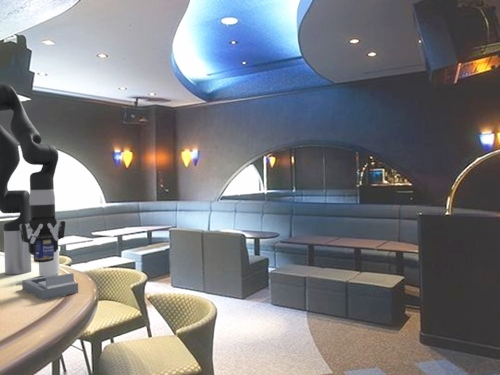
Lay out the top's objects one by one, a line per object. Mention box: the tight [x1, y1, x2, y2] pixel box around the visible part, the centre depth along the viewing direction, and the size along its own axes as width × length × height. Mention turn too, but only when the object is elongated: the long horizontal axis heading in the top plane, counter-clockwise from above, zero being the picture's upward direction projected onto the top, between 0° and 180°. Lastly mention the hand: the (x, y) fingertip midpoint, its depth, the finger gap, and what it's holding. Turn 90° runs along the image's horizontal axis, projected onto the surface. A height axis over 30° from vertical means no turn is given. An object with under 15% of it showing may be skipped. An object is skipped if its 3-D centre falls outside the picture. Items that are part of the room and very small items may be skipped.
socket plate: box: [21, 274, 79, 301], centre depth 129 cm, size 19×11×3 cm, turn 46°
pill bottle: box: [32, 228, 54, 263], centre depth 131 cm, size 6×6×11 cm
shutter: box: [38, 272, 75, 289], centre depth 125 cm, size 8×8×3 cm
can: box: [38, 247, 61, 277], centre depth 151 cm, size 7×7×12 cm
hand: (43, 252), depth 131 cm, fingers closed on pill bottle, 6 cm apart
